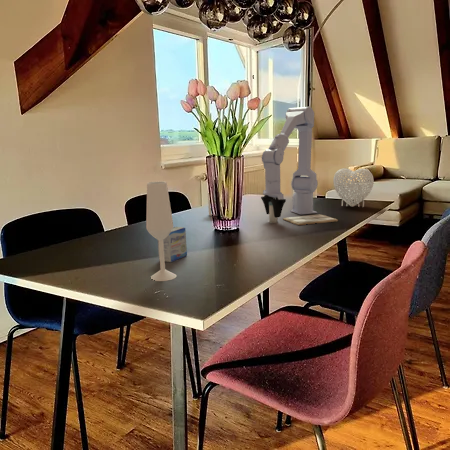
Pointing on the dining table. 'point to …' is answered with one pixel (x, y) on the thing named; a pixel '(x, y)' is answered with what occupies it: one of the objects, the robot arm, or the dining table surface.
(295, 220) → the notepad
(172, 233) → the medicine box
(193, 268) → the dining table surface
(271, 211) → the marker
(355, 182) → the decorative heart
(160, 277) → the champagne flute
